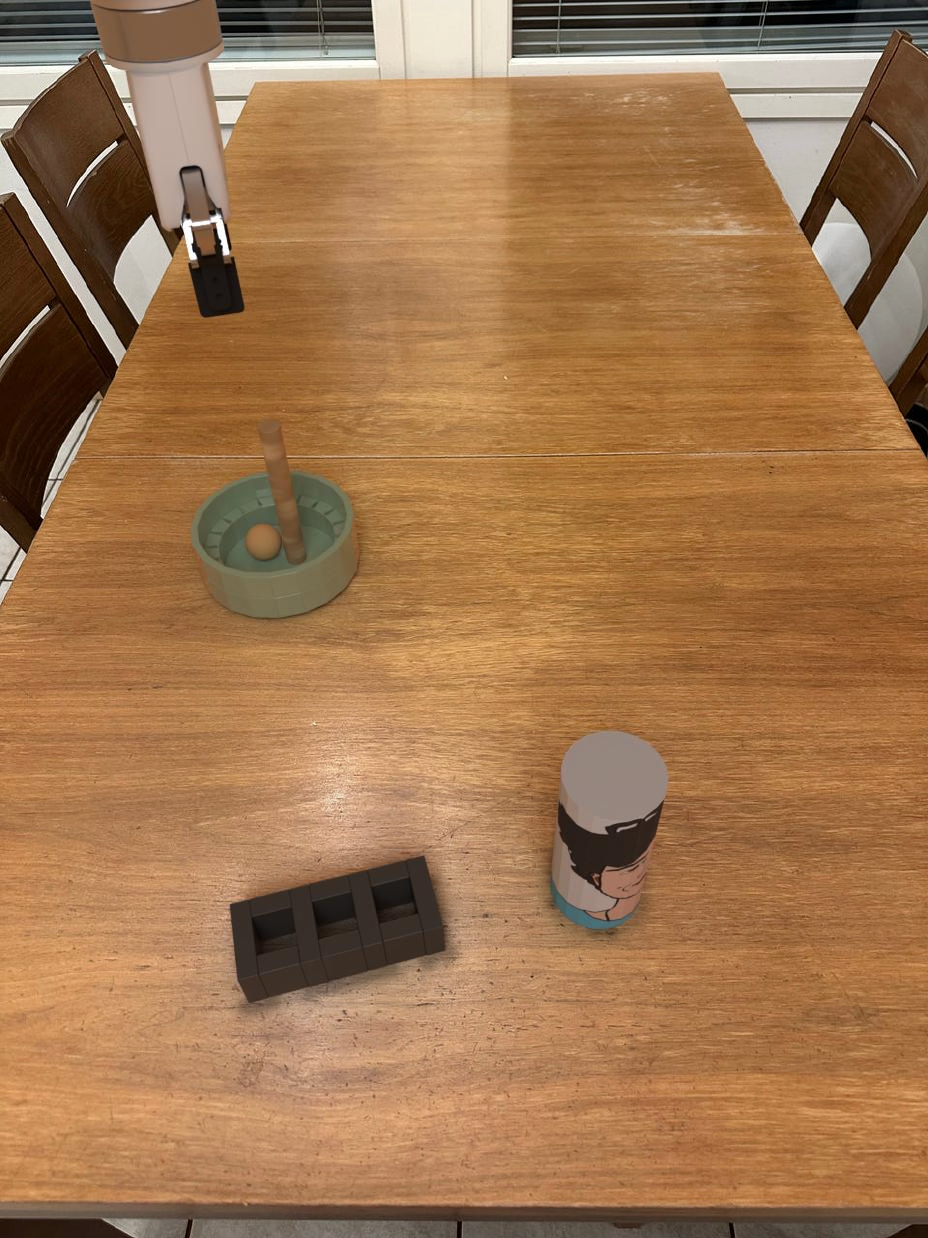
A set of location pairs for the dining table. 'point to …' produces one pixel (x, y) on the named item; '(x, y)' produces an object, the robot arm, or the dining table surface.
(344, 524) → the bowl
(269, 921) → the holder
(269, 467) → the stick
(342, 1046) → the dining table surface
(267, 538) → the dough ball
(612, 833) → the printed cylindrical canister
